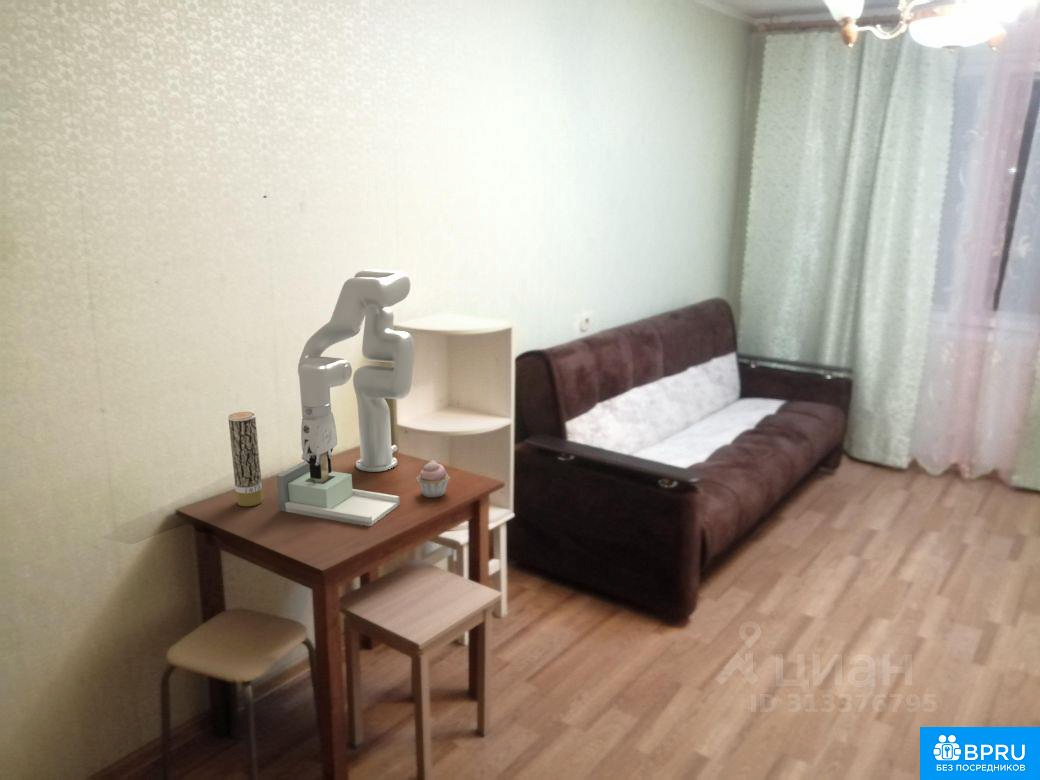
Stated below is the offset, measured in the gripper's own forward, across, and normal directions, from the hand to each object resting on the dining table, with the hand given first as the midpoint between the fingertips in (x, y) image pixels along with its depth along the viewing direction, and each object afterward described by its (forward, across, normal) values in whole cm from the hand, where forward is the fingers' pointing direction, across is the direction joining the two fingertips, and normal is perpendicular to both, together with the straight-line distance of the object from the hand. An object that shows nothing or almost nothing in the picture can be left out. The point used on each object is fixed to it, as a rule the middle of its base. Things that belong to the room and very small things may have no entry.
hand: (320, 474), depth 211 cm
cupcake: (+9, +18, -24) cm, 32 cm away
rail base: (+9, 0, -6) cm, 10 cm away
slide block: (+7, 0, 0) cm, 7 cm away
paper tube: (+9, -6, +20) cm, 22 cm away
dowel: (+4, 0, 0) cm, 4 cm away
